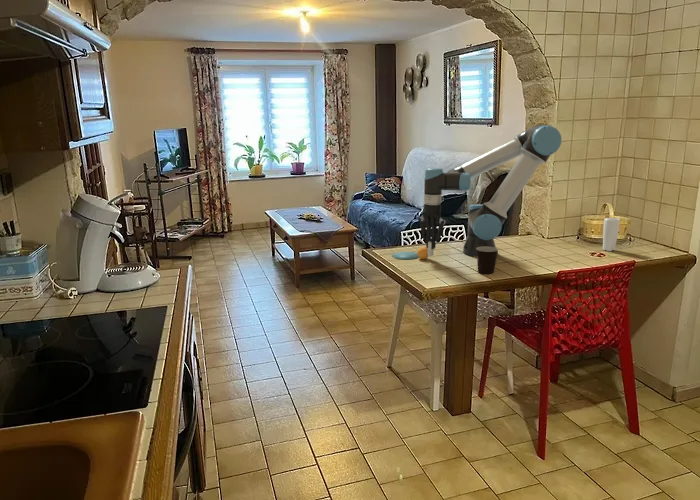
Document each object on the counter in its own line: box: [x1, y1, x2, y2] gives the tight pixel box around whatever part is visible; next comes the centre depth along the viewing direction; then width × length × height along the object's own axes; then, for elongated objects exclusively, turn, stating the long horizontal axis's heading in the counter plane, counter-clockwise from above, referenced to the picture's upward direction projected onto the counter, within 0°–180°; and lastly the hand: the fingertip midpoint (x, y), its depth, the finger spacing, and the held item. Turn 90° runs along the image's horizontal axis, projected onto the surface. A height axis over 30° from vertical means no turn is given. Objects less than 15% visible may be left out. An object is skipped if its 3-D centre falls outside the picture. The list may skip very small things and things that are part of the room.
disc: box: [391, 251, 420, 261], centre depth 244 cm, size 13×13×1 cm
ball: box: [416, 246, 429, 260], centre depth 238 cm, size 6×6×6 cm
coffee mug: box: [476, 246, 499, 276], centre depth 218 cm, size 12×9×10 cm
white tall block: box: [602, 217, 621, 252], centre depth 246 cm, size 7×7×15 cm
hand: (430, 255), depth 236 cm, fingers closed
